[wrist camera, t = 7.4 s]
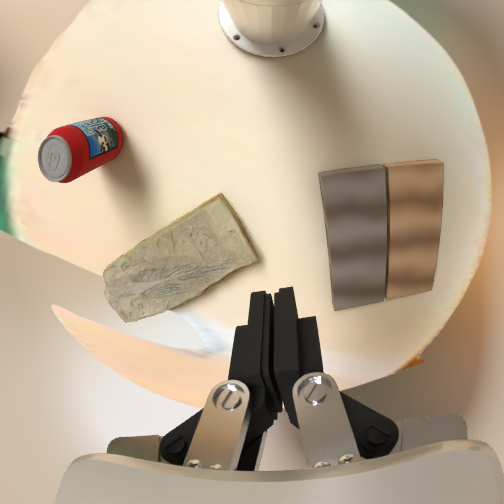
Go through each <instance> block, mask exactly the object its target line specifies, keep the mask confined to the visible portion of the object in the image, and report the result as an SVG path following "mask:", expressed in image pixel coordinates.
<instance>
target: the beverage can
mask: <svg viewBox="0 0 504 504" xmlns="http://www.w3.org/2000/svg"><path fill="white" fill-rule="evenodd" d="M122 142H123V136H122V131H121V129H120V127H119V125H118V124H117V122H116V121H114V120H113V119H111V118H108V117H100V118H95V119H90V120H85V121H81V122H77V123H73V124H69V125H66V126H62V127H59V128H56V129H54V130H53V131H52V132H51V133H50V134H49V135H48V136H47V138H46V139H45V140H44V141H43V142H42V143H41V145H40V148H39V152H38V163H39V167H40V170H41V172H42V174H43V175H44V176H45V177H46V178H47V179H48V180H50V181H52V182H60V183H68V182H71V181H73V180H75V179H76V178H78V177H80V176H82V175H84V174H86V173H88V172H90V171H92V170H93V169H95V168H97V167H99V166H101V165H103V164H105V163H107V162H109V161H111V160H112V159H114V158H115V157H116V156H117V155H118V153H119V152H120V150H121V147H122Z"/></svg>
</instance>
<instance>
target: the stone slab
mask: <svg viewBox="0 0 504 504" xmlns="http://www.w3.org/2000/svg"><path fill="white" fill-rule="evenodd" d="M256 261H258V260H257V254H256V252H255V250H254V249H253V247H252V245H251V244H250V242H249V240H248V238H247V236H246V234H245V232H244V230H243V228H242V226H241V224H240V222H239V220H238V217H237V216H236V213H235V211H234V210H233V208H232V207H231V206H230V204H229V203H228V201H227V200H226V199H225V198H224V197H223V195H222V193H219V194H217V195H216V196H214V197H212V198H210V199H209V200H207V201H205V202H204V203H203V204H201V205H200V206H198V207H197V208H195V209H194V210H192V211H191V212H189V213H187V214H185V215H184V216H182V217H180V218H178V219H177V220H175V221H174V222H172V223H171V224H170V225H168V226H166V227H165V228H163V229H162V230H160V231H159V232H157V233H156V234H154V235H153V236H151V237H150V238H148V239H145V240H143V241H142V242H140V243H139V244H138V245H136V246H135V247H134V248H133V249H131V250H130V251H128V252H127V253H126V254H125V255H121V256H120V257H119V258H117V259H116V260H115V261H114V262H112V263H111V264H109V265H108V266H107V267H106V269H105V270H104V272H103V276H104V279H105V283H106V289H105V297H106V298H107V300H108V302H109V304H110V305H111V306H112V308H114V310H116V312H117V313H118V315H119V316H120V317H121V318H122V319H123V321H124V322H133V321H137V320H139V319H142V318H146V317H150V316H154V315H156V314H159V313H163V312H165V311H166V310H170V309H174V308H176V307H178V306H180V305H182V304H184V303H185V302H188V301H189V300H191V299H194V298H196V297H198V296H199V295H201V294H202V293H204V292H205V291H206V290H207V289H208V288H209V287H210V286H212V285H215V284H216V283H219V282H220V281H222V280H223V279H224V278H225V277H227V276H228V275H230V274H232V273H233V272H235V271H236V270H238V269H241V268H244V267H245V266H247V265H250V264H251V263H252V262H256Z"/></svg>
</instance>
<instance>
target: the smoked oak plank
mask: <svg viewBox="0 0 504 504" xmlns="http://www.w3.org/2000/svg"><path fill="white" fill-rule="evenodd" d="M318 175H319V181H320V188H321V195H322V202H323V210H324V218H325V227H326V235H327V245H328V255H329V266H330V278H331V291H332V304H333V307H334V311H337V310H342V309H347V308H352V307H357V306H362V305H367V304H371V303H376V302H380V301H384V292H385V277H386V256H387V198H386V177H385V168H384V167H382V166H381V165H371V166H363V167H355V168H348V169H341V170H334V171H328V172H321V173H318Z"/></svg>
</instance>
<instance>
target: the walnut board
mask: <svg viewBox="0 0 504 504" xmlns="http://www.w3.org/2000/svg"><path fill="white" fill-rule="evenodd" d="M383 167H384V168H385V177H386V198H387V256H386V277H385V292H384V296H385V298H386V300H390V299H394V298H399V297H404V296H408V295H413V294H417V293H421V292H425V291H430V290H432V287H433V282H434V276H435V270H436V264H437V257H438V250H439V242H440V233H441V222H442V208H443V184H444V163H443V162H441V161H439V160H437V159H435V160H421V161H409V162H398V163H388V164H383Z"/></svg>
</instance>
